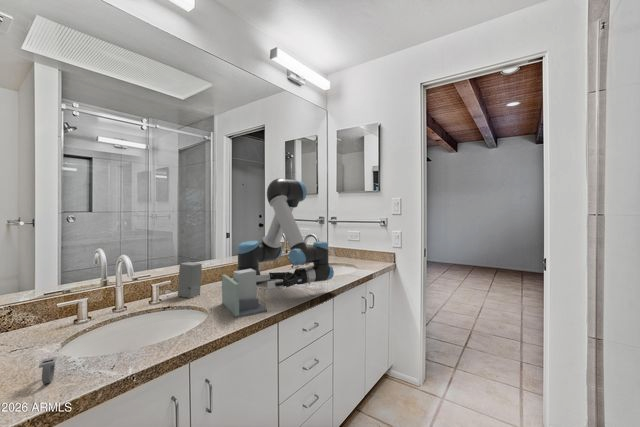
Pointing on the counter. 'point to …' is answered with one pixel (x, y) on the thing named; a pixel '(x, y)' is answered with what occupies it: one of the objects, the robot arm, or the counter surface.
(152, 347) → the counter surface
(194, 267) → the skincare box
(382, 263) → the counter surface
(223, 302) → the holder
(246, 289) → the skincare box
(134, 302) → the counter surface
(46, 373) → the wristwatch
